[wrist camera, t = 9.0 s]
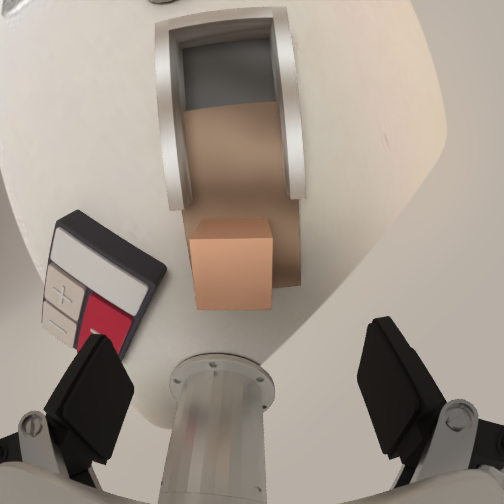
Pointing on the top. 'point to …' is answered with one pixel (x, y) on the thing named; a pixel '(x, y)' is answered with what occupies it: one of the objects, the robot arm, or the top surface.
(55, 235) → the calculator
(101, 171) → the top surface
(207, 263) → the block
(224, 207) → the metal sorting tray
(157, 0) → the rook chess piece
